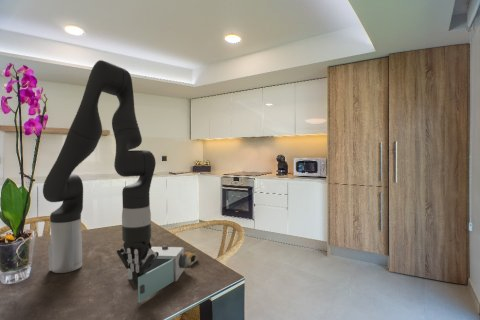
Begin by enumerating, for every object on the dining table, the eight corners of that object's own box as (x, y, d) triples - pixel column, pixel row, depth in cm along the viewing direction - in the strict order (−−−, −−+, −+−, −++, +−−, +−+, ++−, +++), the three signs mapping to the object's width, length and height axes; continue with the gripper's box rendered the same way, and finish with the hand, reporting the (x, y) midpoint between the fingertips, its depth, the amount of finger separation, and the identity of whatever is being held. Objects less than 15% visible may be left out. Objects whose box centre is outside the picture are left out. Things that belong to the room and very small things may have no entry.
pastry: (167, 263, 105) (167, 253, 105) (178, 257, 111) (178, 247, 111) (189, 267, 101) (188, 256, 101) (199, 260, 107) (199, 250, 107)
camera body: (127, 279, 92) (127, 252, 91) (139, 269, 100) (138, 244, 99) (182, 281, 90) (181, 253, 90) (189, 270, 98) (188, 245, 98)
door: (141, 303, 76) (140, 277, 76) (137, 302, 77) (137, 276, 76) (177, 280, 89) (176, 258, 89) (173, 279, 90) (173, 257, 90)
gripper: (165, 221, 80) (166, 281, 81) (127, 217, 85) (128, 274, 86) (147, 228, 73) (149, 294, 74) (107, 223, 78) (109, 286, 79)
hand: (138, 283), depth 80 cm, fingers closed
